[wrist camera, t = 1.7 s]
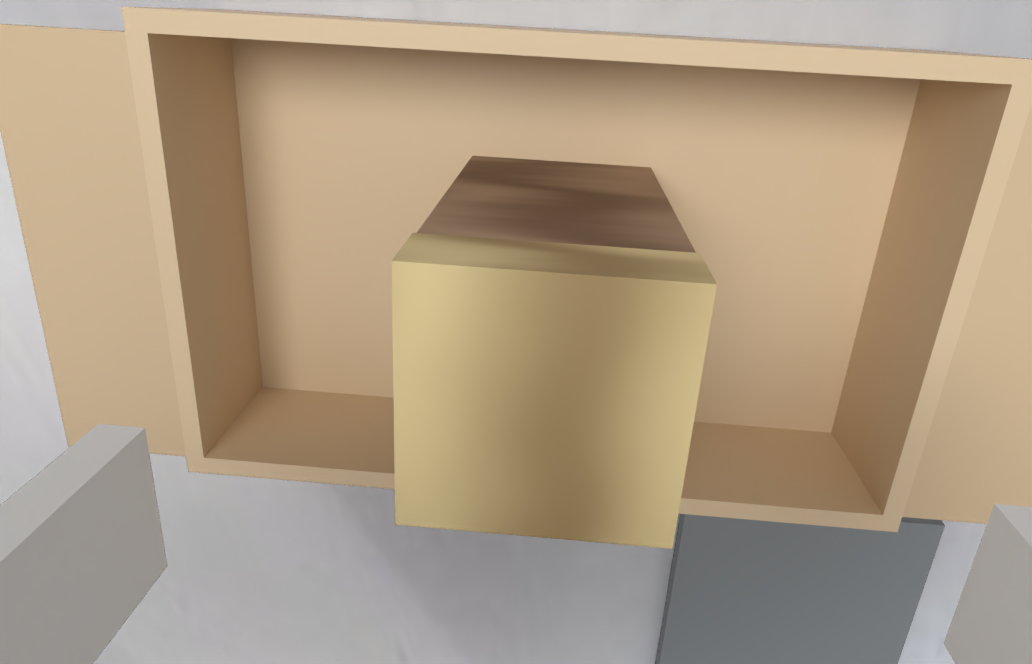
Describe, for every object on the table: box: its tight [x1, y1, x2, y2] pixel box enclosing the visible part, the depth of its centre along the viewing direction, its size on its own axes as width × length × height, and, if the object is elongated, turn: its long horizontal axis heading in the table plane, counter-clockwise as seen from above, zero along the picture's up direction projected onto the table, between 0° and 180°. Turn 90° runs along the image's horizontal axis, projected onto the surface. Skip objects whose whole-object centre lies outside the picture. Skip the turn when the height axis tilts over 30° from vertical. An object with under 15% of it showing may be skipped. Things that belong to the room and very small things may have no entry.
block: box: [392, 156, 717, 549], centre depth 21 cm, size 6×6×12 cm
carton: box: [0, 7, 1032, 532], centre depth 24 cm, size 31×14×6 cm, turn 87°
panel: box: [655, 514, 945, 664], centre depth 32 cm, size 10×10×1 cm
